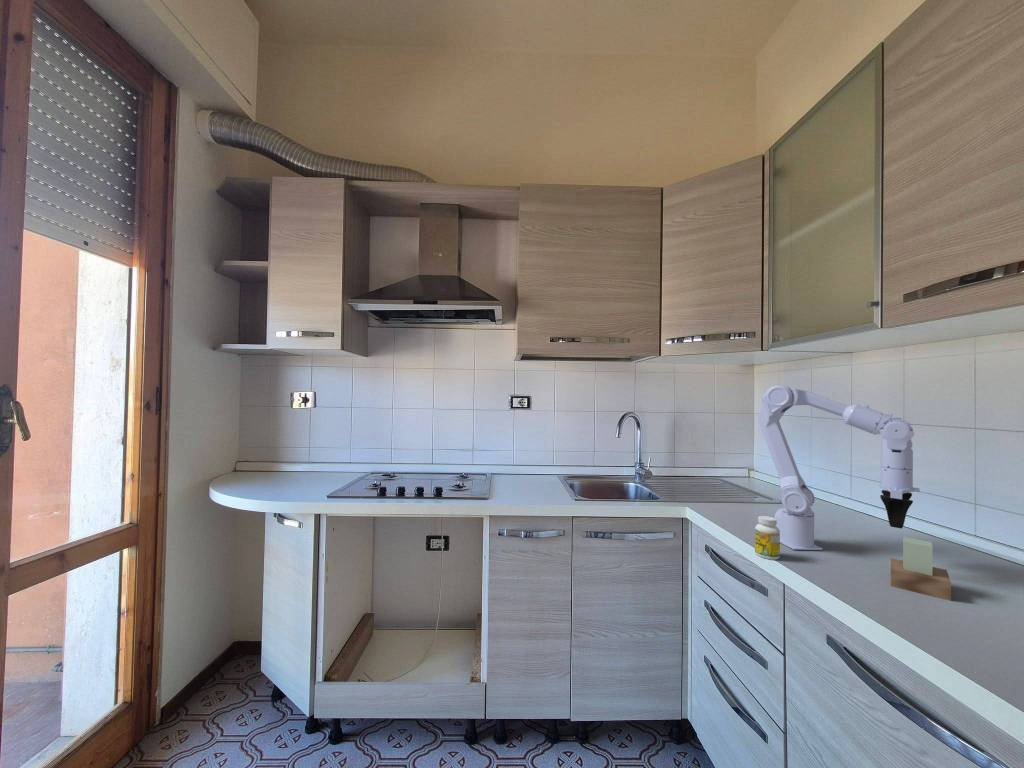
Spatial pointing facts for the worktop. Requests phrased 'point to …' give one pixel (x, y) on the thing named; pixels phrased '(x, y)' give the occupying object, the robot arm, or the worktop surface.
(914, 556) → the sage brick
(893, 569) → the walnut block
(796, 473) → the robot arm
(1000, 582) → the worktop surface
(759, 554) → the supplement bottle
